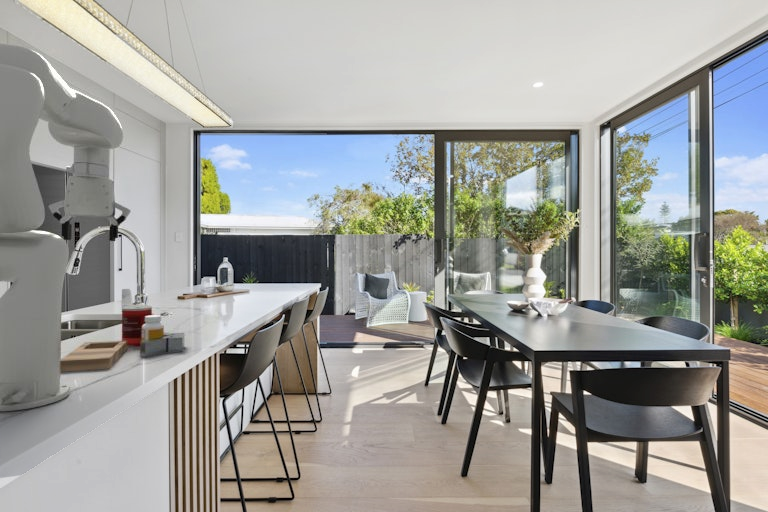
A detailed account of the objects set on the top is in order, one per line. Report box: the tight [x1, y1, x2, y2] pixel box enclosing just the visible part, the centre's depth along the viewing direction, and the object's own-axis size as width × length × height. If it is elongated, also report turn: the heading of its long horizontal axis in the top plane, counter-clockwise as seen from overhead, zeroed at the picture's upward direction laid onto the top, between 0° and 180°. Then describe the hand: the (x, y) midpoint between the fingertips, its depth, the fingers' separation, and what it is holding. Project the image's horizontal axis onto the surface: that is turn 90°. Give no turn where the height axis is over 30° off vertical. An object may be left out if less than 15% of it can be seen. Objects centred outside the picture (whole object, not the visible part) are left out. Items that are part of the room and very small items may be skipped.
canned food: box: [121, 304, 153, 347], centre depth 126 cm, size 8×8×11 cm
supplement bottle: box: [142, 314, 165, 341], centre depth 118 cm, size 5×5×10 cm
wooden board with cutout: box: [60, 340, 128, 373], centre depth 107 cm, size 20×10×2 cm, turn 21°
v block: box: [139, 332, 186, 358], centre depth 119 cm, size 10×16×4 cm, turn 21°
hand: (90, 240), depth 107 cm, fingers open, 9 cm apart
